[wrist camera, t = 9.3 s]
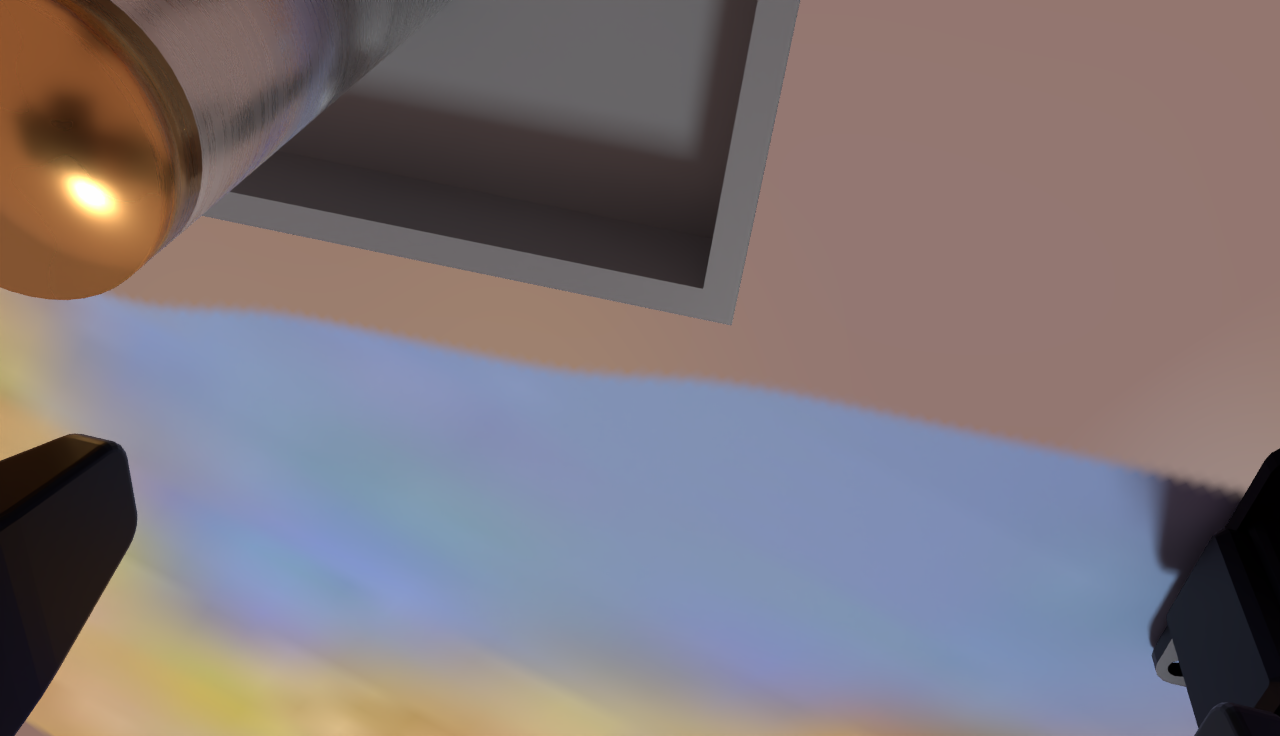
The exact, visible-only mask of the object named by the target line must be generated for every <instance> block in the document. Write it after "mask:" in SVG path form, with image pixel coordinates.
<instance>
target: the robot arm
mask: <svg viewBox="0 0 1280 736" xmlns="http://www.w3.org/2000/svg"><path fill="white" fill-rule="evenodd" d="M136 526H137V510H136V504H135V498H134V493H133V487H132V482H131V476H130V470H129V465H128V459H127V455H126V452H125V451H124V449H123V448H122V447H121V445H119V444H117V443H116V442H113V441H109V440H105V439H101V438H96V437H92V436H88V435H83V434H69V435H66V436H63V437H60V438H58V439H55V440H52V441H50V442H47V443H45V444H42V445H40V446H37V447H35V448H32V449H30V450H27V451H24V452H22V453H19V454H17V455H14V456H12V457H9V458H7V459H4V460H2V461H0V736H15V734H16V733H17V731H18V730H19V729H20V727H21V726H22V724H23V723H24V722H25V720H26V719H27V717H28V716H29V715H30V713H31V712H32V710H33V709H34V707H35V706H36V704H37V703H38V701H39V700H40V699H41V697H42V696H43V694H44V692H45V691H46V689H47V688H48V686H49V684H50V683H51V681H52V679H53V678H54V676H55V675H56V673H57V671H58V670H59V668H60V666H61V665H62V663H63V661H64V659H65V658H66V656H67V654H68V652H69V651H70V649H71V647H72V645H73V644H74V642H75V640H76V638H77V637H78V635H79V633H80V631H81V630H82V628H83V626H84V624H85V623H86V621H87V619H88V618H89V616H90V614H91V612H92V611H93V609H94V607H95V605H96V604H97V602H98V600H99V598H100V597H101V595H102V593H103V591H104V590H105V588H106V586H107V584H108V583H109V581H110V579H111V578H112V576H113V574H114V572H115V571H116V569H117V567H118V565H119V564H120V562H121V560H122V558H123V557H124V555H125V553H126V551H127V550H128V548H129V546H130V544H131V542H132V540H133V537H134V534H135V531H136ZM1166 619H1167V623H1168V626H1167V627H1166V629H1165V631H1164V633H1163V634H1162V636H1161V638H1160V639H1159V641H1158V643H1157V644H1156V646H1155V648H1154V650H1153V653H1152V658H1153V662H1154V666H1155V670H1156V672H1157V675H1158V676H1159V677H1160V678H1161V679H1162V680H1163V681H1166V682H1169V683H1171V684H1176V685H1180V686H1185V687H1186V688H1187V691H1188V694H1189V698H1190V701H1191V705H1192V708H1193V711H1194V715H1195V718H1196V721H1197V725H1198V728H1199V729H1198V731H1197V732H1196V734H1195V735H1194V736H1280V449H1278V450H1276V451H1275V452H1272V453H1271V454H1270V455H1269V456H1268V457H1267V458H1266V460H1265V461H1264V463H1263V464H1262V466H1261V468H1260V469H1259V471H1258V473H1257V475H1256V476H1255V478H1254V480H1253V481H1252V483H1251V485H1250V486H1249V488H1248V490H1247V491H1246V493H1245V495H1244V497H1243V498H1242V500H1241V502H1240V503H1239V505H1238V507H1237V508H1236V510H1235V512H1234V514H1233V515H1232V517H1231V519H1230V520H1229V522H1228V524H1227V525H1226V527H1225V529H1222V530H1221V531H1219V532H1218V533H1217V534H1215V535H1214V536H1213V537H1212V538H1211V540H1210V542H1209V543H1208V545H1207V547H1206V548H1205V550H1204V552H1203V554H1202V555H1201V557H1200V559H1199V560H1198V562H1197V564H1196V566H1195V567H1194V569H1193V571H1192V572H1191V574H1190V576H1189V578H1188V579H1187V581H1186V583H1185V584H1184V586H1183V588H1182V590H1181V591H1180V593H1179V595H1178V596H1177V598H1176V600H1175V602H1174V603H1173V605H1172V607H1171V608H1170V610H1169V612H1168V614H1167V617H1166ZM1178 660H1179V663H1172V662H1175V661H1178Z"/></svg>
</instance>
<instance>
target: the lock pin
mask: <svg viewBox="0 0 1280 736" xmlns="http://www.w3.org/2000/svg"><path fill="white" fill-rule="evenodd" d="M451 1H452V0H0V287H1V288H4V289H6V290H9V291H12V292H16V293H20V294H23V295H27V296H31V297H38V298H44V299H56V300H71V299H81V298H87V297H91V296H95V295H99V294H102V293H104V292H106V291H108V290H111V289H113V288H115V287H117V286H118V285H119V284H121V283H122V282H124V281H125V280H127V279H128V278H129V277H131V276H132V275H133V274H134V273H135V272H136V271H137V270H139V269H140V268H141V267H142V266H143V265H145V264H146V263H147V262H148V261H149V260H150V259H151V258H152V257H154V256H155V255H156V254H157V253H159V252H160V251H161V250H162V249H163V248H164V247H166V245H168V244H169V243H170V242H171V241H173V240H174V239H175V238H176V237H177V236H178V235H180V234H181V233H182V232H183V231H184V230H185V229H186V228H188V227H189V226H190V225H191V224H192V223H193V222H194V221H196V220H197V219H198V218H199V217H201V216H202V215H203V214H204V213H205V212H206V211H208V210H209V209H210V208H211V207H212V206H213V205H215V204H216V203H217V202H218V201H219V200H220V199H221V198H223V197H224V196H225V195H226V194H227V193H228V192H230V191H231V190H232V189H233V188H234V187H235V186H237V185H238V184H239V183H240V182H241V181H242V180H244V179H245V178H246V177H247V176H248V175H249V174H251V173H252V172H253V171H254V170H255V169H256V168H258V167H259V166H260V165H261V164H262V163H263V162H265V161H266V160H267V159H268V158H269V157H270V156H272V155H273V154H274V153H275V152H276V151H277V150H279V149H280V148H281V147H282V146H283V145H284V144H286V143H287V142H288V141H289V140H290V139H291V138H293V137H294V136H295V135H296V134H297V133H298V132H300V131H301V130H302V129H303V128H304V127H305V126H307V125H308V124H309V123H310V122H311V121H312V120H314V119H315V118H316V117H317V116H318V115H319V114H321V113H322V112H323V111H324V110H325V109H326V108H328V107H329V106H330V105H331V104H332V103H333V102H335V101H336V100H337V99H338V98H339V97H340V96H342V95H343V94H344V93H345V92H346V91H347V90H349V89H350V88H351V87H352V86H353V85H354V84H356V83H357V82H358V81H359V80H360V79H361V78H363V77H364V76H365V75H366V74H367V73H368V72H370V71H371V70H372V69H373V68H374V67H375V66H377V65H378V64H379V63H380V62H381V61H382V60H384V59H385V58H386V57H387V56H388V55H389V54H391V53H392V52H393V51H394V50H395V49H396V48H398V47H399V46H400V45H401V44H402V43H403V42H405V41H406V40H407V39H408V38H409V37H410V36H412V35H413V34H414V33H415V32H416V31H417V30H419V29H420V28H421V27H422V26H423V25H424V24H426V23H427V22H428V21H429V20H430V19H431V18H433V17H434V16H435V15H436V14H437V13H438V12H440V11H441V10H442V9H443V8H444V7H445V6H447V5H448V4H449V3H450V2H451Z"/></svg>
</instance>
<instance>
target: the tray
mask: <svg viewBox="0 0 1280 736" xmlns="http://www.w3.org/2000/svg"><path fill="white" fill-rule="evenodd" d="M799 3H800V0H452V1H451V2H450V3H449V4H448V5H447V6H445V7H444V8H443V9H442V10H441V11H440V12H438V13H437V14H436V15H435V16H434V17H433V18H431V19H430V20H429V21H428V22H427V23H426V24H424V25H423V26H422V27H421V28H420V29H419V30H417V31H416V32H415V33H414V34H413V35H412V36H410V37H409V38H408V39H407V40H406V41H405V42H403V43H402V44H401V45H400V46H399V47H398V48H396V49H395V50H394V51H393V52H392V53H391V54H389V55H388V56H387V57H386V58H385V59H384V60H382V61H381V62H380V63H379V64H378V65H377V66H375V67H374V68H373V69H372V70H371V71H370V72H368V73H367V74H366V75H365V76H364V77H363V78H361V79H360V80H359V81H358V82H357V83H356V84H354V85H353V86H352V87H351V88H350V89H349V90H347V91H346V92H345V93H344V94H343V95H342V96H340V97H339V98H338V99H337V100H336V101H335V102H333V103H332V104H331V105H330V106H329V107H328V108H326V109H325V110H324V111H323V112H322V113H321V114H319V115H318V116H317V117H316V118H315V119H314V120H312V121H311V122H310V123H309V124H308V125H307V126H305V127H304V128H303V129H302V130H301V131H300V132H298V133H297V134H296V135H295V136H294V137H293V138H291V139H290V140H289V141H288V142H287V143H286V144H284V145H283V146H282V147H281V148H280V149H279V150H277V151H276V152H275V153H274V154H273V155H272V156H270V157H269V158H268V159H267V160H266V161H265V162H263V163H262V164H261V165H260V166H259V167H258V168H256V169H255V170H254V171H253V172H252V173H251V174H249V175H248V176H247V177H246V178H245V179H244V180H242V181H241V182H240V183H239V184H238V185H237V186H235V187H234V188H233V189H232V190H231V191H230V192H228V193H227V194H226V195H225V196H224V197H223V198H221V199H220V200H219V201H218V202H217V203H216V204H215V205H213V206H212V207H211V208H210V209H209V210H208V211H206V212H205V213H204V214H203V215H202V216H206V217H211V218H216V219H221V220H226V221H231V222H235V223H240V224H245V225H250V226H255V227H259V228H264V229H269V230H274V231H279V232H284V233H288V234H293V235H298V236H303V237H308V238H313V239H318V240H322V241H327V242H332V243H337V244H341V245H347V246H351V247H356V248H361V249H366V250H371V251H375V252H380V253H385V254H390V255H395V256H399V257H404V258H409V259H414V260H419V261H424V262H428V263H433V264H438V265H443V266H448V267H452V268H457V269H462V270H467V271H472V272H477V273H481V274H486V275H491V276H496V277H501V278H505V279H510V280H515V281H520V282H525V283H530V284H535V285H540V286H544V287H549V288H554V289H559V290H564V291H568V292H573V293H578V294H583V295H587V296H593V297H598V298H602V299H607V300H612V301H617V302H621V303H627V304H631V305H636V306H641V307H645V308H650V309H655V310H660V311H665V312H669V313H674V314H679V315H684V316H689V317H694V318H698V319H703V320H708V321H713V322H718V323H723V324H727V325H732V320H733V315H734V311H735V306H736V301H737V296H738V292H739V287H740V283H741V278H742V273H743V269H744V263H745V259H746V254H747V249H748V245H749V239H750V235H751V231H752V226H753V221H754V217H755V212H756V207H757V202H758V197H759V193H760V188H761V183H762V178H763V174H764V169H765V164H766V160H767V155H768V150H769V145H770V141H771V136H772V131H773V126H774V122H775V117H776V112H777V107H778V103H779V98H780V93H781V88H782V84H783V79H784V74H785V69H786V64H787V60H788V55H789V50H790V45H791V41H792V36H793V31H794V27H795V22H796V17H797V12H798V8H799Z"/></svg>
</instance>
